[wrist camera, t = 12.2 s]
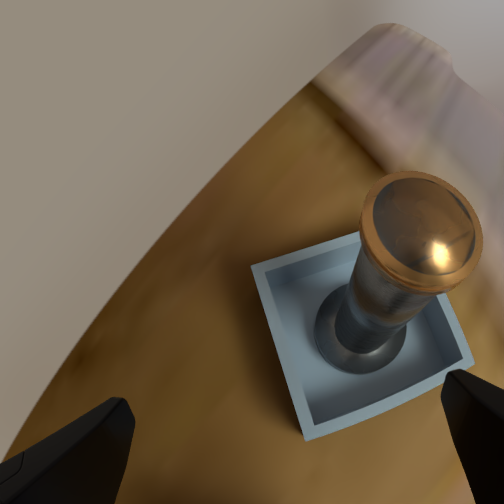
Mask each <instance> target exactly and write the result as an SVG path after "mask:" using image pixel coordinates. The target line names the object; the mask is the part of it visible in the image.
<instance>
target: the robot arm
mask: <svg viewBox="0 0 504 504" xmlns="http://www.w3.org/2000/svg"><path fill="white" fill-rule="evenodd" d="M441 402H442V405H443V408H444V412H445V415H446V418H447V422H448V425H449V429H450V432H451V436H452V439H453V443H454V445H455V448H456V451H457V453H458V456H459V458H460V461H461V463H462V466H463V469H464V471H465V474H466V477H467V480H468V482H469V485H470V488H471V491H472V494H473V497H474V500H475V503H476V504H504V390H503V389H501V388H499V387H497V386H495V385H493V384H491V383H489V382H487V381H485V380H483V379H481V378H479V377H477V376H475V375H473V374H471V373H469V372H467V371H465V370H463V369H455V370H452V371H449V372H447V374H446V376H445V380H444V384H443V388H442V391H441ZM134 428H135V418H134V415H133V413H132V411H131V409H130V407H129V405H128V402H127V401H126V400H125V399H124V398H119V397H111V398H110V399H108V400H106V401H105V402H103V403H102V404H100V405H99V406H97V407H95V408H94V409H92V410H91V411H89V412H87V413H86V414H84V415H83V416H81V417H79V418H78V419H76V420H75V421H73V422H71V423H70V424H68V425H66V426H65V427H63V428H62V429H60V430H58V431H57V432H55V433H53V434H52V435H50V436H48V437H47V438H45V439H43V440H42V441H40V442H38V443H36V444H35V445H33V446H31V447H30V448H28V449H26V450H25V451H23V452H21V453H19V454H18V455H16V456H14V457H12V458H10V459H8V460H7V461H5V462H3V463H1V464H0V504H114V503H115V500H116V496H117V493H118V490H119V487H120V484H121V481H122V478H123V475H124V472H125V469H126V465H127V461H128V456H129V452H130V447H131V442H132V437H133V433H134Z"/></svg>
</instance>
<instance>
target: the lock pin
mask: <svg viewBox="0 0 504 504" xmlns="http://www.w3.org/2000/svg"><path fill="white" fill-rule="evenodd" d="M359 235H360V241H361V247H360V250H359V254H358V257H357V260H356V263H355V266H354V268H353V271H352V274H351V277H350V280H349V283H348V284H345V285H342V286H340V287H338V288H337V289H335V290H334V291H332V292H331V293H330V294H329V295H328V296H327V297H326V298H325V299H324V301H323V302H322V304H321V306H320V308H319V310H318V313H317V316H316V321H315V328H314V334H315V341H316V345H317V347H318V350H319V351H320V353H321V355H322V356H323V358H324V359H325V360H326V361H327V362H328V363H329V364H330V365H331V366H332V367H334V368H335V369H337V370H339V371H341V372H344V373H347V374H352V375H365V374H370V373H373V372H376V371H378V370H380V369H382V368H383V367H385V366H386V365H388V364H389V363H390V362H392V361H393V360H394V359H395V358H396V356H397V355H398V354H399V352H400V351H401V349H402V347H403V345H404V342H405V338H406V332H407V323H408V322H409V321H410V320H411V319H412V318H413V317H415V316H416V315H417V314H418V313H419V312H420V311H421V310H422V309H423V308H424V307H425V306H426V305H427V304H428V303H429V302H430V301H431V300H432V299H433V298H434V297H435V296H436V295H440V294H443V293H446V292H448V291H450V290H452V289H454V288H455V287H456V286H458V285H459V284H460V283H461V282H462V281H463V280H464V279H465V278H466V277H467V276H468V275H469V274H470V273H471V272H472V271H473V270H474V268H475V267H476V265H477V264H478V262H479V259H480V257H481V253H482V247H483V235H482V229H481V225H480V222H479V219H478V217H477V215H476V213H475V211H474V209H473V207H472V206H471V205H470V203H469V202H468V200H467V199H466V198H465V197H464V196H463V195H462V194H461V193H460V192H459V191H458V190H457V189H456V188H454V187H453V186H452V185H450V184H449V183H447V182H446V181H444V180H442V179H440V178H438V177H436V176H433V175H430V174H427V173H423V172H418V171H401V172H396V173H392V174H389V175H387V176H385V177H383V178H382V179H380V180H379V181H377V182H376V183H375V184H374V185H373V186H372V188H371V189H370V190H369V192H368V194H367V196H366V199H365V202H364V206H363V210H362V213H361V218H360V223H359Z"/></svg>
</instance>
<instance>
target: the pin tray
mask: <svg viewBox="0 0 504 504" xmlns="http://www.w3.org/2000/svg"><path fill="white" fill-rule="evenodd" d="M360 247H361V241H360V235H359V231H358V232H355V233H352V234H349V235H346V236H343V237H339V238H336V239H333V240H330V241H327V242H324V243H321V244H318V245H314V246H311V247H308V248H305V249H302V250H299V251H296V252H292V253H289V254H286V255H283V256H280V257H276V258H273V259H270V260H267V261H264V262H261V263H257V264H254V265H251V269H252V272H253V275H254V279H255V282H256V285H257V288H258V292H259V295H260V298H261V301H262V304H263V308H264V311H265V314H266V317H267V321H268V324H269V327H270V330H271V333H272V337H273V340H274V343H275V346H276V349H277V353H278V356H279V359H280V362H281V365H282V369H283V372H284V375H285V378H286V381H287V385H288V388H289V391H290V394H291V397H292V400H293V404H294V407H295V410H296V413H297V416H298V419H299V423H300V426H301V429H302V432H303V435H304V438H305V441H308V440H311V439H314V438H317V437H320V436H323V435H326V434H329V433H332V432H335V431H338V430H341V429H343V428H346V427H349V426H351V425H354V424H356V423H359V422H361V421H364V420H366V419H369V418H371V417H374V416H376V415H378V414H381V413H383V412H385V411H387V410H390V409H392V408H394V407H396V406H398V405H401V404H403V403H405V402H407V401H409V400H411V399H413V398H415V397H417V396H419V395H421V394H423V393H425V392H427V391H429V390H431V389H433V388H434V387H436V386H438V385H440V384H442V383H444V380H445V376H446V374H447V372H449V371H452V370H455V369H463V370H466V369H468V368H469V367H471V366H472V365H474V364H475V362H474V359H473V356H472V354H471V351H470V349H469V346H468V344H467V341H466V339H465V336H464V334H463V331H462V329H461V327H460V324H459V322H458V320H457V317H456V315H455V313H454V311H453V309H452V306H451V304H450V302H449V300H448V298H447V296H446V294H445V293H443V294H440V295H436V296H435V297H434V298H433V299H432V300H431V301H430V302H429V303H428V304H427V305H426V306H425V307H424V308H423V309H422V310H421V311H420V312H419V313H418V314H417V315H416V316H415V317H413V318H412V319H411V320H410V321H409V322H408V323H407V332H406V338H405V342H404V345H403V347H402V349H401V351H400V352H399V354H398V355H397V356H396V358H395V359H394V360H393V361H392V362H390V363H389V364H388V365H386V366H385V367H383V368H382V369H380V370H378V371H376V372H373V373H370V374H365V375H352V374H347V373H344V372H341V371H339V370H337V369H335V368H334V367H332V366H331V365H330V364H329V363H328V362H327V361H326V360H325V359H324V358H323V356H322V355H321V353H320V351H319V350H318V347H317V345H316V341H315V334H314V328H315V321H316V316H317V313H318V310H319V308H320V306H321V304H322V302H323V301H324V299H325V298H326V297H327V296H328V295H329V294H330V293H331V292H332V291H334V290H335V289H337V288H338V287H340V286H342V285H345V284H348V283H349V280H350V277H351V274H352V271H353V268H354V266H355V263H356V260H357V257H358V254H359V250H360Z"/></svg>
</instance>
